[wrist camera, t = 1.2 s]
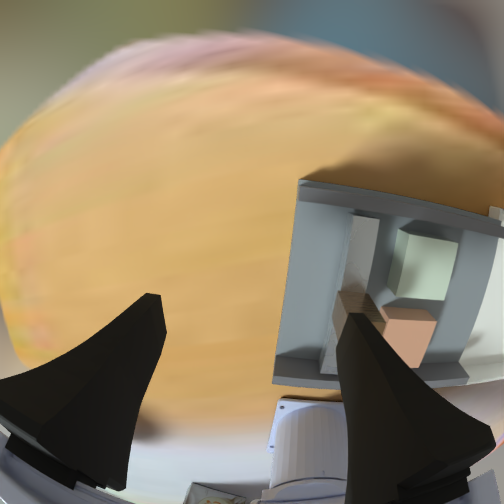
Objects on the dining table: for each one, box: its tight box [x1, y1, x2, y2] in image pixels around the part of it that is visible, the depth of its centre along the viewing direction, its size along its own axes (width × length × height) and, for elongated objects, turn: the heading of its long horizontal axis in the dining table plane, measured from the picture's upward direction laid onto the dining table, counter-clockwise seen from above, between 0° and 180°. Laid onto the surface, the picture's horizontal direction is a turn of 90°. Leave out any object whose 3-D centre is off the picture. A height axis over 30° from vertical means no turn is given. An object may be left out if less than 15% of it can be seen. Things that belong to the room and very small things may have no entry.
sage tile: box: [387, 229, 458, 301], centre depth 16 cm, size 4×4×2 cm
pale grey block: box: [319, 212, 386, 374], centre depth 15 cm, size 11×2×5 cm, turn 175°
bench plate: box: [272, 179, 504, 390], centre depth 18 cm, size 14×17×4 cm
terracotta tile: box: [380, 306, 437, 368], centre depth 17 cm, size 4×4×2 cm
